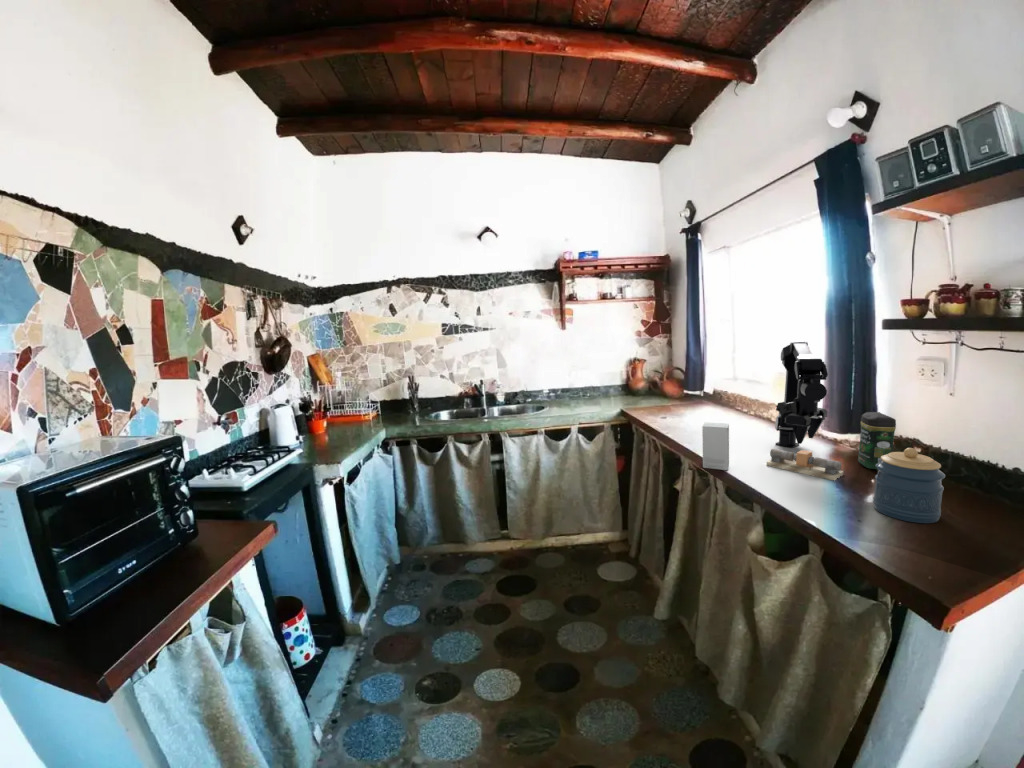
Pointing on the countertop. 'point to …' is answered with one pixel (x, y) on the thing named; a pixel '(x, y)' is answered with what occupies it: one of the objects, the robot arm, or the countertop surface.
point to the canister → (909, 487)
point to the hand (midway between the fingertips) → (805, 440)
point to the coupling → (804, 458)
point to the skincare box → (715, 445)
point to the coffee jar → (875, 438)
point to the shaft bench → (818, 469)
